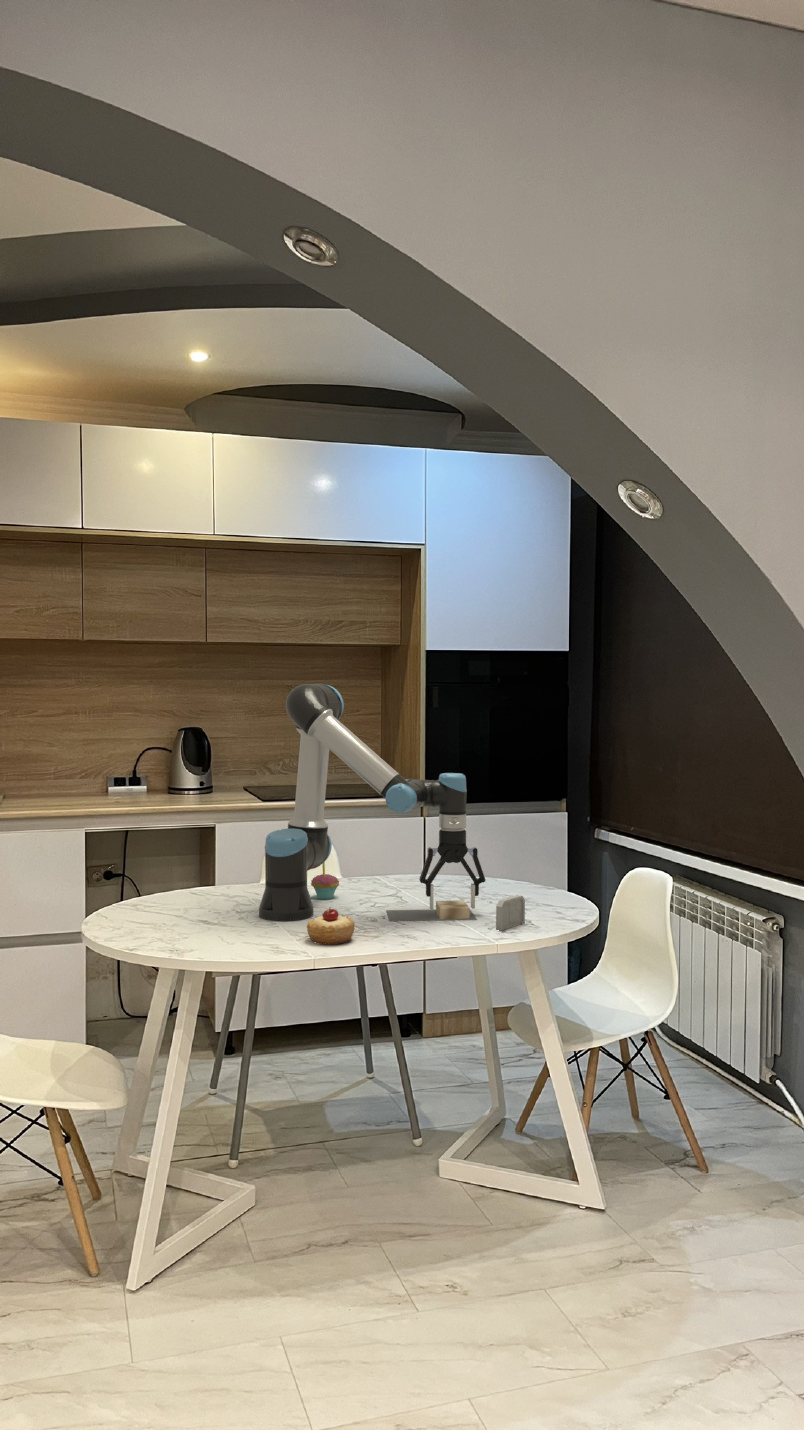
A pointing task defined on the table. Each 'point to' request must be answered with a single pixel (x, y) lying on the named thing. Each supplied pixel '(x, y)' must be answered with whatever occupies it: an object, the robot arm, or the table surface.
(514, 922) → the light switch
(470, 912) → the mat
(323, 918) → the pastry
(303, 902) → the robot arm
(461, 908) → the tan and green block
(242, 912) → the table surface
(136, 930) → the table surface
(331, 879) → the cupcake
